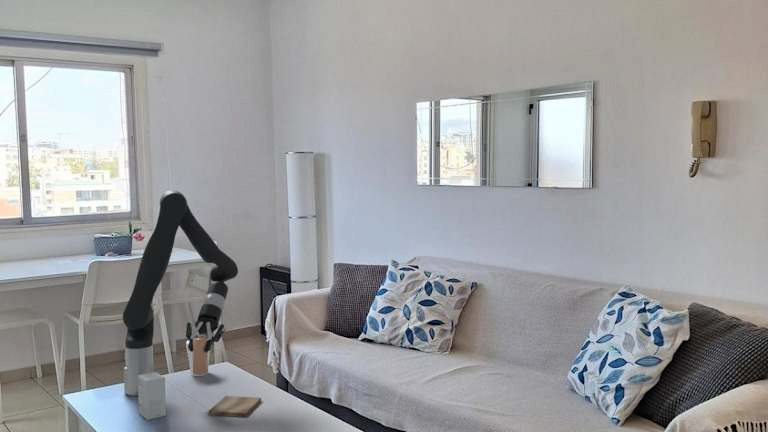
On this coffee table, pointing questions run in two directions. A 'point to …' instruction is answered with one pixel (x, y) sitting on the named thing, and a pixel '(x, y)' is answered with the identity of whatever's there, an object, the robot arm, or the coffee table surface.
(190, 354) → the foam cup
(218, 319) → the robot arm
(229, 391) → the coffee table surface
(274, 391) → the coffee table surface
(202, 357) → the canister
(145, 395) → the small box
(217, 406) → the board
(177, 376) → the coffee table surface
